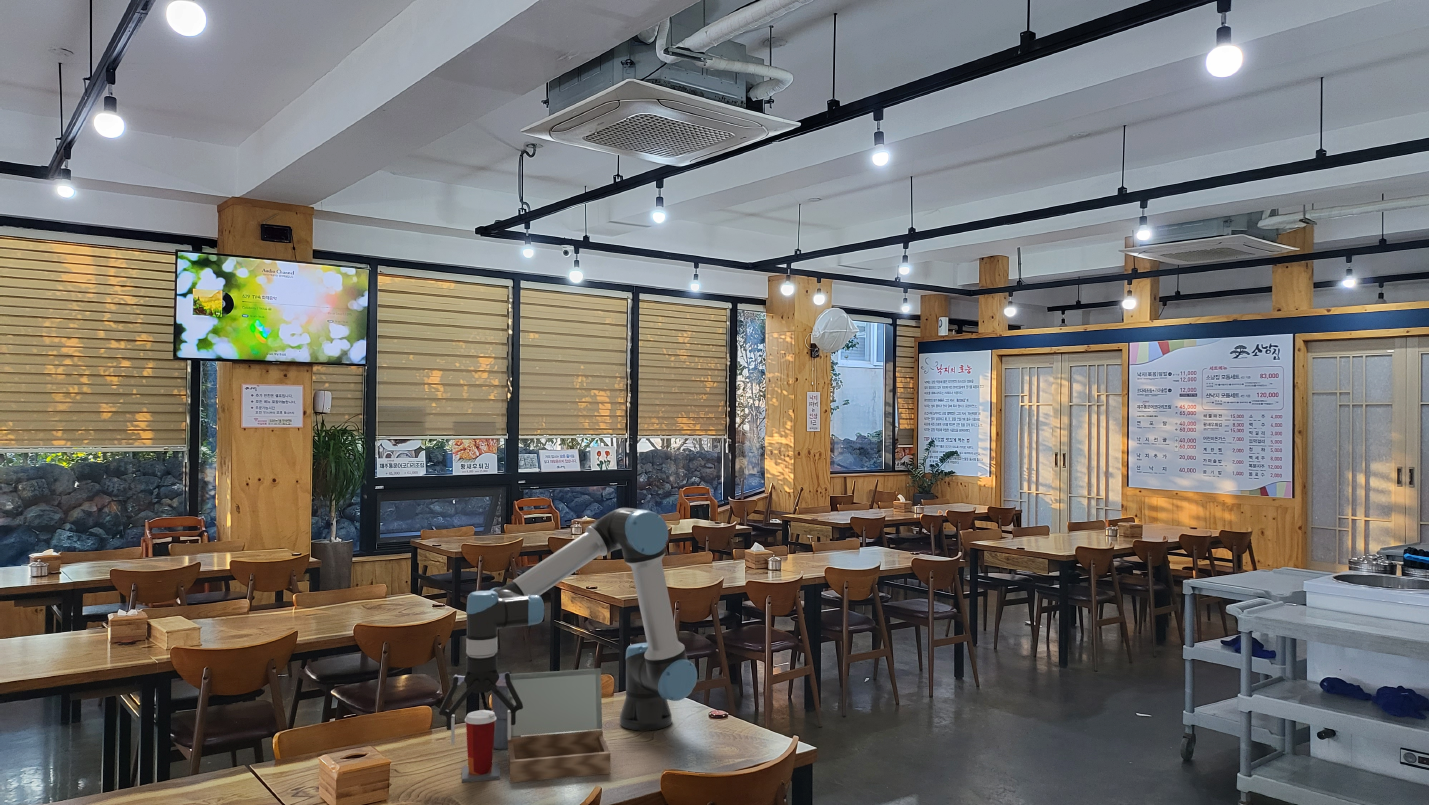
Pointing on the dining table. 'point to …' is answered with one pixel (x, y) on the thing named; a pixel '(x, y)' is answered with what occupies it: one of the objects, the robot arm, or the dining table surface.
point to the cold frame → (557, 756)
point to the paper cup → (480, 741)
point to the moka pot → (499, 716)
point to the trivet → (489, 776)
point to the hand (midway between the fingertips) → (481, 740)
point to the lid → (557, 701)
